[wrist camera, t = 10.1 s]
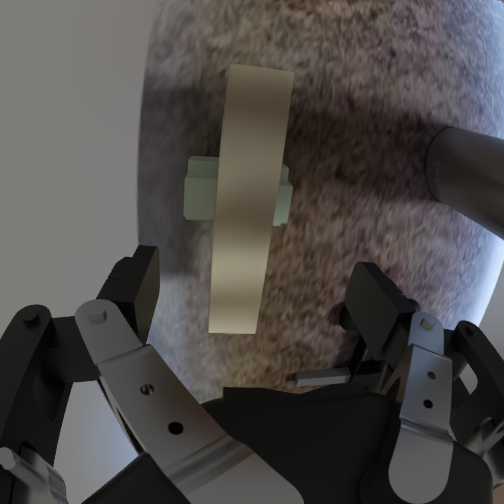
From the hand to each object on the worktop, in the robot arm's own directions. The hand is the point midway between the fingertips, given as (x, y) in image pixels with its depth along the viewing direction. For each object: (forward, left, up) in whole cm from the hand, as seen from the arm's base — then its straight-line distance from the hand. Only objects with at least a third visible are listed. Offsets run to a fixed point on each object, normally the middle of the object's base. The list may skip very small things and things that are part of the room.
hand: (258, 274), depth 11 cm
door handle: (-7, +28, -16) cm, 33 cm away
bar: (0, 0, -11) cm, 11 cm away
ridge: (0, 0, -16) cm, 16 cm away
